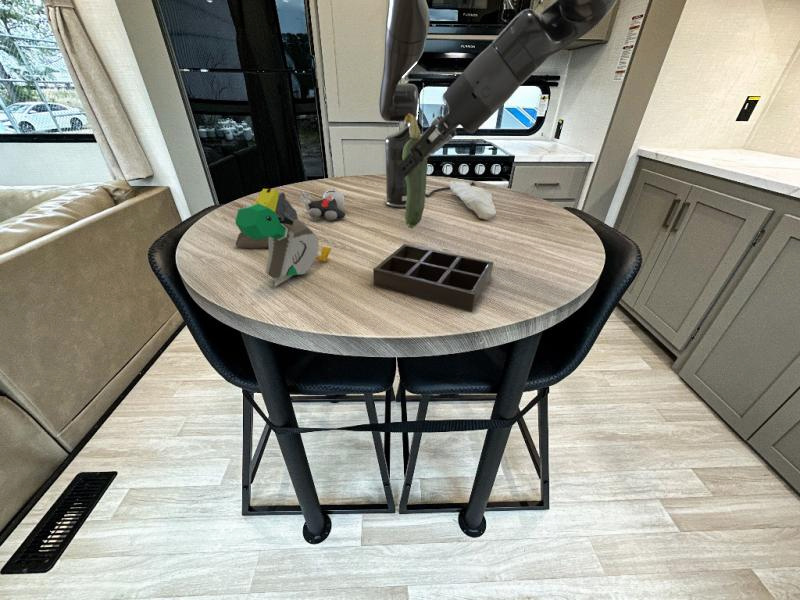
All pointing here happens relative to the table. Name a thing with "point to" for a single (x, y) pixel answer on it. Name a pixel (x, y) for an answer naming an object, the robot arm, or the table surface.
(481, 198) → the rock
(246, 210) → the toy
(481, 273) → the brown compartment tray
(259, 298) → the table surface
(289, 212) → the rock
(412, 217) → the vegetable
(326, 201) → the toy
